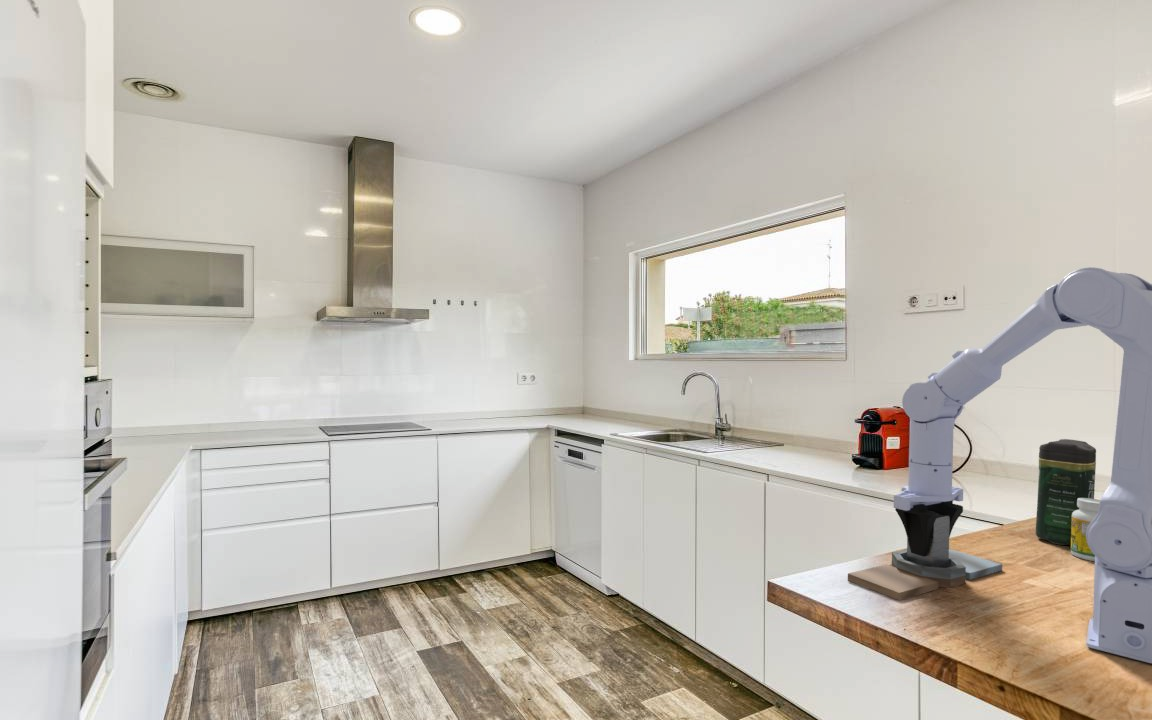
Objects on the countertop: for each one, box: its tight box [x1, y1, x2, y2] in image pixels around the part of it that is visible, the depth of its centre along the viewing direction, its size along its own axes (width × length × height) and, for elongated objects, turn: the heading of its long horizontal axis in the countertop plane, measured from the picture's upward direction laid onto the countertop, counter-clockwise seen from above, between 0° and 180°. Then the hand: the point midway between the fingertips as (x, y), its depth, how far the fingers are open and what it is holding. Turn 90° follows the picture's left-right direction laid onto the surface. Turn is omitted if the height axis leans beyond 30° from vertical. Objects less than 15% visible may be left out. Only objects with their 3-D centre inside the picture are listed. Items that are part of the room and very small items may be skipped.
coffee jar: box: [1035, 438, 1097, 546], centre depth 112 cm, size 10×8×19 cm
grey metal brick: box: [906, 510, 950, 568], centre depth 93 cm, size 4×4×8 cm
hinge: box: [847, 548, 1003, 601], centre depth 93 cm, size 26×9×2 cm, turn 119°
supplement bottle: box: [1070, 498, 1100, 562], centre depth 103 cm, size 5×5×10 cm
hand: (927, 552), depth 93 cm, fingers open, 4 cm apart
